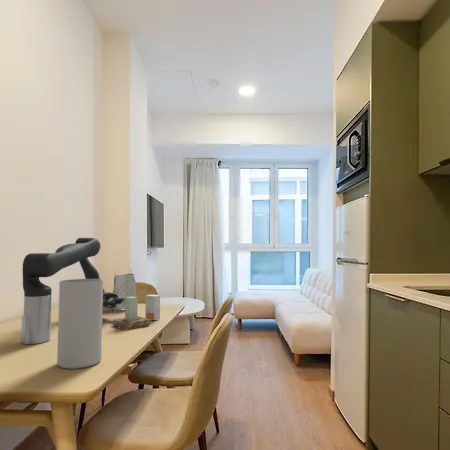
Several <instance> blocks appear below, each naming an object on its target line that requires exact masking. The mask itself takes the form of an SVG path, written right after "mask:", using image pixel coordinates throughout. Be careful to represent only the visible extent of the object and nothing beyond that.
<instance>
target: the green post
mask: <svg viewBox="0 0 450 450" xmlns="http://www.w3.org/2000/svg"><path fill="white" fill-rule="evenodd" d="M138 302H139V301H138V297H137V296H136V297H134V296H133V297H125V310H124V318H125V321H134V320H137V316H138Z"/></svg>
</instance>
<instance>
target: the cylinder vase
mask: <svg viewBox="0 0 450 450" xmlns="http://www.w3.org/2000/svg"><path fill="white" fill-rule="evenodd" d="M58 284H59V285H58V286H59V290H58V317H57V319H58V320H57V321H58V323H57V324H58V325H57V328H58V329H57V352H56V355H57V357H56V363H57V366H58V367H59V368H62V369H65V370H66V369H67V370H76V369H84V368H89V367H92V366H95V365H97V364H99V363H100V361H101V360H102V352H103V350H102V348H103V344H102V342H103V341H102V339H103V307H104V306H103V289H104V279H101V278H100V279H85V278H74V279H63V280H59V283H58Z"/></svg>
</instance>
